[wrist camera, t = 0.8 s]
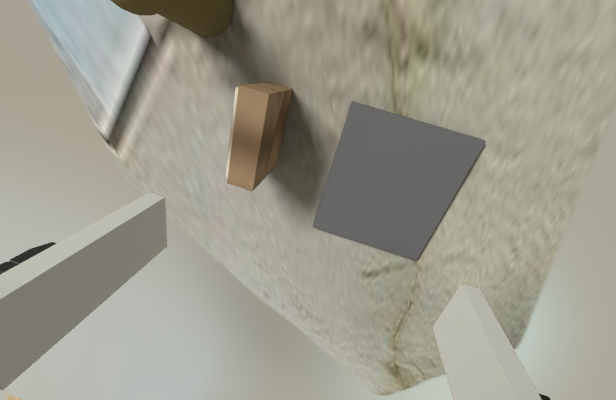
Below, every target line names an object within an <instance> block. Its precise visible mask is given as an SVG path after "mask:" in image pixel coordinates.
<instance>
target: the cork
mask: <svg viewBox="0 0 616 400" xmlns="http://www.w3.org/2000/svg"><path fill="white" fill-rule="evenodd" d="M111 1H112V2H114V3H115V4H116V5H117V6H119V7H120V8H122V9H124V10H126V11H129V12H131V13H133V14H137V15H154V14H159V15H161V16H163V17H165V18H167V19H169V20H171V21H173V22H175V23H177V24H179V25H181V26H183V27H185V28H187V29H189V30H191V31H192V32H194V33H197V34H199V35H201V36H204V37H213V36H216V35H218V34H220V33H221V32H222V31H224V30H225V29H226V28H227V26H228V24H229V22H230V20H231V16H232V10H233V1H232V0H111Z"/></svg>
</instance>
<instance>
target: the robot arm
mask: <svg viewBox="0 0 616 400" xmlns="http://www.w3.org/2000/svg"><path fill="white" fill-rule="evenodd" d="M166 247H167V235H166V206H165V197H163V196H159V195H156V194H152V193H148V194H146V195H144V196H142V197H140V198H139V199H137V200H135V201H133V202H131V203H129V204H128V205H126V206H124V207H122V208H120V209H119V210H117V211H115V212H113V213H111V214H109V215H108V216H106V217H104V218H102V219H100V220H99V221H97V222H95V223H93V224H91V225H89V226H88V227H86V228H84V229H82V230H80V231H79V232H77V233H75V234H73V235H71V236H69V237H68V238H66V239H64V240H62V241H60V242H59V243H57V244H56V243H53V242H51V243H48V244H45V245H42V246H38V247H35V248H32V249H30V250H28V251H26V252H24V253H22V254H20V255H18V256H16V257H14V258H12V259H11V260H10V261H9V262H5V263H3V264H1V265H0V389H1V390H4V389H5V388H6V387H7V386H8V385H9V384H10V383H12V381H14V380H15V379H16V378H17V377H18V376H20V374H22V373H23V372H24V371H25V370H26V369H27V368H29V367H30V366H31V365H32V364H33V363H34V362H36V361H37V360H38V359H39V358H40V357H41V356H42V355H43V354H45V353H46V352H47V351H48V350H49V349H50V348H52V346H54V345H55V344H56V343H57V342H58V341H60V340H61V339H62V338H63V337H64V336H65V335H66V334H67V333H69V332H70V331H71V330H72V329H73V328H74V327H75V326H77V325H78V324H79V323H80V322H81V321H82V320H83V319H84V318H86V317H87V316H88V315H89V314H90V313H91V312H93V311H94V310H95V309H96V308H97V307H98V306H99V305H100V304H102V303H103V302H104V301H105V300H106V299H107V298H108V297H110V296H111V295H112V294H113V293H114V292H115V291H116V290H118V289H119V288H120V287H121V286H122V285H123V284H124V283H126V282H127V281H128V280H129V279H130V278H131V277H132V276H134V275H135V274H136V273H137V272H138V271H139V270H140V269H142V268H143V267H144V266H145V265H146V264H147V263H148V262H150V261H151V260H152V259H153V258H154V257H155V256H156V255H158V254H159V253H160V252H161V251H162V250H163V249H164V248H166ZM433 331H434V334H435V338H436V341H437V345H438V348H439V352H440V355H441V359H442V362H443V366H444V369H445V373H446V376H447V380H448V383H449V387H450V390H451V394H452V397H453V400H550V398H549V397H548V396H545V395H541V394H538V392H537V390H536V388H535V387H534V385H533V383H532V381H531V380H530V378H529V376H528V374H527V372H526V371H525V369H524V367H523V365H522V363H521V362H520V360H519V358H518V356H517V355H516V353H515V351H514V349H513V347H512V346H511V344H510V342H509V340H508V338H507V337H506V335H505V333H504V331H503V329H502V328H501V326H500V324H499V322H498V320H497V319H496V317H495V315H494V313H493V312H492V310H491V308H490V306H489V304H488V303H487V301H486V299H485V297H484V295H483V294H482V292H481V290H480V289H478V288H474V287H471V286H468V285H464V284H461V285H460V286H459V288H458V289H457V291H456V292H455V294H454V295H453V297H452V298H451V300H450V301H449V303H448V304H447V306H446V308H445V309H444V311H443V312H442V314H441V315H440V317H439V318H438V320H437V321H436V323H435V324H434V326H433Z"/></svg>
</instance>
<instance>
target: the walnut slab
mask: <svg viewBox="0 0 616 400" xmlns="http://www.w3.org/2000/svg"><path fill="white" fill-rule="evenodd" d="M291 93H292V89H291V88H287V87H284V86H281V85H277V84H274V83H270V82H267V83H256V84H245V85H239V87H236V89H235V98H234V107H233V116H232V125H231V134H230V142H229V151H228V160H227V169H226V178H228V180H227V183H228V184H232V185H235V186H238V187H241V188H244V189H247V190H250V191H253V190H254V189H255V188H256V187H257V186H258V185H259V184H260V183H261V181H262V180H263V179H264V178H265V177H266V176H267V175H268V174H269V173H270V172H271V171H272V170H273V169H274V168H275V167H276V165H277V160H278V156H279V151H280V146H281V141H282V136H283V132H284V127H285V122H286V117H287V112H288V108H289V103H290V98H291Z"/></svg>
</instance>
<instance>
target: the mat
mask: <svg viewBox="0 0 616 400" xmlns="http://www.w3.org/2000/svg"><path fill="white" fill-rule="evenodd" d="M485 142H486V141H484V140H482V139H478V138H475V137H471V136H468V135H465V134H461V133H458V132H454V131H451V130H448V129H444V128H441V127H437V126H434V125H431V124H427V123H424V122H420V121H417V120H414V119H410V118H407V117H403V116H400V115H397V114H393V113H390V112H386V111H383V110H380V109H376V108H373V107H369V106H366V105H363V104H359V103H356V102H352V103H351V106H350V109H349V112H348V116H347V119H346V122H345V125H344V128H343V132H342V135H341V138H340V141H339V144H338V147H337V151H336V154H335V157H334V160H333V163H332V167H331V170H330V173H329V176H328V179H327V182H326V186H325V189H324V192H323V195H322V198H321V202H320V205H319V208H318V211H317V214H316V217H315V221H314V224H313V227H314V228H317V229H320V230H323V231H326V232H329V233H333V234H336V235H339V236H342V237H345V238H348V239H351V240H354V241H357V242H360V243H364V244H367V245H370V246H373V247H376V248H379V249H382V250H385V251H388V252H391V253H395V254H398V255H401V256H404V257H407V258H410V259H413V260H416V261H417V259H418V257H419V255H420V254H421V252H422V250H423V249H424V247H425V245H426V243H427V242H428V240H429V238H430V237H431V235H432V233H433V231H434V230H435V228H436V226H437V225H438V223H439V221H440V219H441V218H442V216H443V214H444V213H445V211H446V209H447V207H448V206H449V204H450V202H451V201H452V199H453V197H454V195H455V194H456V192H457V190H458V189H459V187H460V185H461V183H462V182H463V180H464V178H465V177H466V175H467V173H468V171H469V170H470V168H471V166H472V165H473V163H474V161H475V159H476V158H477V156H478V154H479V153H480V151H481V149H482V147H483V146H484V144H485Z"/></svg>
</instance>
